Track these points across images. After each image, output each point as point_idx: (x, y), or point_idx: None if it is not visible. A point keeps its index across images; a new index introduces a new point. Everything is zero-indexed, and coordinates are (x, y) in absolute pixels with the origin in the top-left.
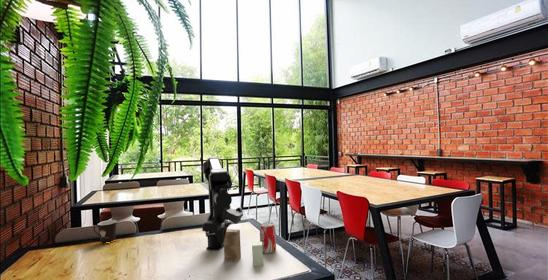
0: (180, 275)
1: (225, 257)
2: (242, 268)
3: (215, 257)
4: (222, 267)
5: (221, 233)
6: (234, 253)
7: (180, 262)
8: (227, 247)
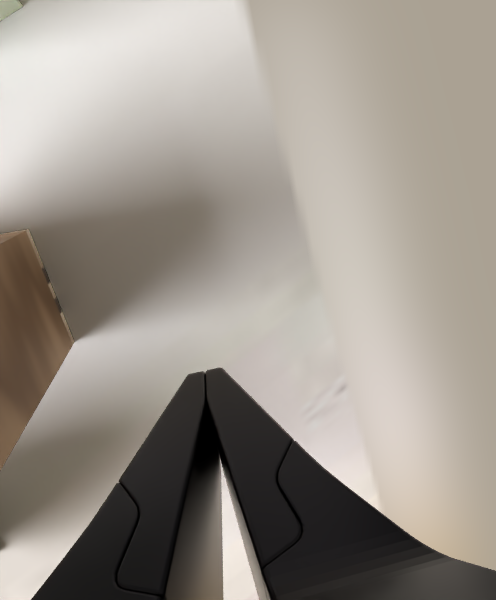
0: (357, 423)
1: (62, 345)
2: (125, 97)
3: (68, 426)
4: (184, 278)
5: (339, 504)
6: (7, 278)
7: (227, 526)
8: (14, 378)
